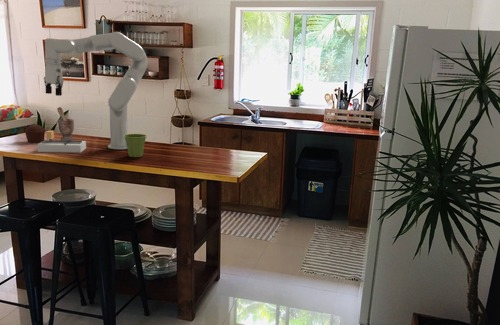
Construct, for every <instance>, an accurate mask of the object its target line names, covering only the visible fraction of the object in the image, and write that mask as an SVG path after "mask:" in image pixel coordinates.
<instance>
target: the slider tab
mask: <svg viewBox="0 0 500 325" xmlns="http://www.w3.org/2000/svg"><path fill="white" fill-rule="evenodd" d="M45 134H46V140H49V142H52V140H53V139H54V138H55V130H46V132H45Z"/></svg>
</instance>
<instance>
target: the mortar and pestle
mask: <svg viewBox="0 0 500 325" xmlns="http://www.w3.org/2000/svg"><path fill="white" fill-rule="evenodd" d="M56 109H57V112H58V114H59V116H60V118H61V119H57V124H58V130H59V132H60V134H61V135H62V137H61V138H60V141H69V140H71V141H75V140H74V138H73V137H72V134H73V133H74V128H75V126H74V124H75V123H74V120H75V119H71V118H66V117H65V113H64V110H63V108H62V107H57V108H56Z"/></svg>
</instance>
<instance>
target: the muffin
mask: <svg viewBox="0 0 500 325" xmlns="http://www.w3.org/2000/svg"><path fill="white" fill-rule="evenodd" d="M23 132H24V133H25V134H24V135H25V137H26V141H27V143H28V144H39V143H41V142H42V141H44V140H45V134H46V132H47V130H46V129H45V128H44V127H43V126H41V125H39V124H31V125H28V126H27V127H26V128H25V130H24V131H23Z"/></svg>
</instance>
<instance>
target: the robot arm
mask: <svg viewBox="0 0 500 325" xmlns="http://www.w3.org/2000/svg"><path fill="white" fill-rule="evenodd" d="M109 50H117V51H118V52H120V53H122V54H123V55H124V56H126V57H128V58H129V59H131V63H130V65H129V68H128V69H127V70H126V72H125V74H124V76H123V77H122V78H121V79H120V80H119V82H118V83H117V85H116V86H115V89H114V90H113V91H112V93H111V95H110V96H109V98H108V101H107V103H108V107H109V128H110V129H109V131H110V132H109V134H110V144H108V145H107V147H108V149H109V150H128V149H127V143H126V140H125V137H124V135H126V134H129V133H128V103H129V102H130V100H131V99H132V97H133V95H134V94H135V92H136V90H137V87H138V85H139V83H140V82H141V80H142V78H143V76H144V75H145V73H146V71H147V68H148V56H147V54H146V52H145V50H144V48H143V47H142V46H141V45H139V44H138V43H136V42H135V41H133V40H132V39H130V38H128V37H127V36H126V35H124V34H123V33H121V32H120V31H113V32H110V33H108V32H107V33H100V34H94V35H89V36H87V37H83V38H75V39H58V38H49V37H47V38H46V39H44V56H45V59H44V60H45V62H44V63H45V69H44V70H45V72H44V77H43V82H44V86H45V94H48V95H49V94H50V95H51V94H52V93H53V92H52V90H53V89H52V85H55V96H60V97H61V96H63V95H62V94H63V86H64V78H63V69H62V64H61V63H62V61H61V60H62V58H61V53H62V54H65V55H75V54H81V53H88V52H93V53H95V52H96V53H97V52H100V51H101V52H103V51H109Z"/></svg>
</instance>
